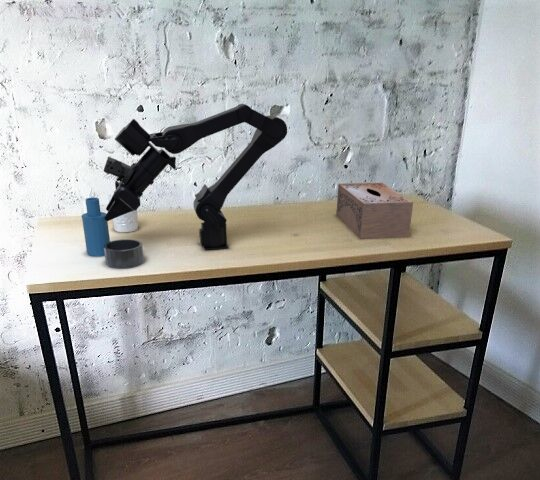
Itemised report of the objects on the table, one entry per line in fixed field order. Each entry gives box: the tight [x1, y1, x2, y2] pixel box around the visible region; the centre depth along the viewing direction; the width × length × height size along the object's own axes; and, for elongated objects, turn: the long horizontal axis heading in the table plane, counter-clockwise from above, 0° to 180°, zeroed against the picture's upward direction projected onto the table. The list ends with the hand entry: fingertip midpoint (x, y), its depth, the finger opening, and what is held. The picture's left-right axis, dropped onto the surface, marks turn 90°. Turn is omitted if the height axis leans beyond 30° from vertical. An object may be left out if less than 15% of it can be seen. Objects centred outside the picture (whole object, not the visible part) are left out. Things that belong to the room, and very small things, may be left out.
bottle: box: [81, 196, 111, 258], centre depth 142 cm, size 6×6×14 cm
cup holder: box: [104, 238, 145, 270], centre depth 138 cm, size 9×9×4 cm
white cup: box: [107, 192, 139, 233], centre depth 162 cm, size 8×8×10 cm
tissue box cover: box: [336, 182, 414, 240], centre depth 169 cm, size 26×14×10 cm, turn 9°
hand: (106, 215), depth 141 cm, fingers open, 9 cm apart
